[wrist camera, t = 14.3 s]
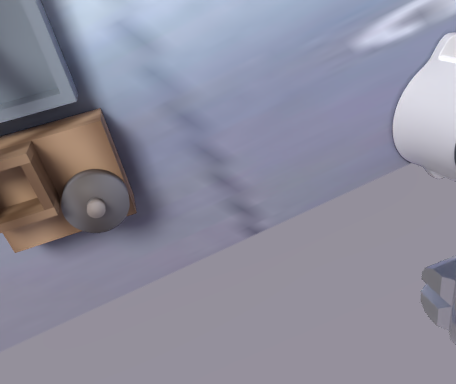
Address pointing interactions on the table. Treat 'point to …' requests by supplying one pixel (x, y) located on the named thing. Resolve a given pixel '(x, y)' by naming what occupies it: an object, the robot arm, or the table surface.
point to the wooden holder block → (61, 181)
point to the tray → (30, 62)
